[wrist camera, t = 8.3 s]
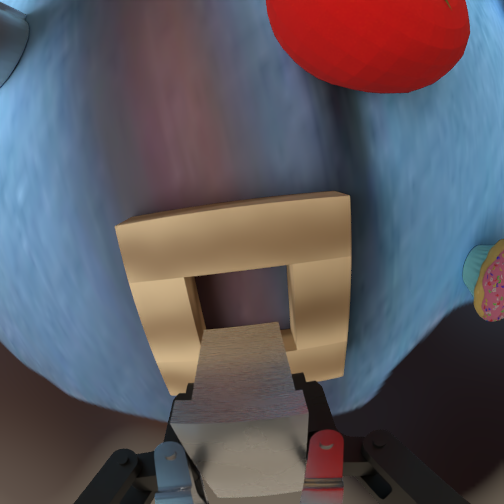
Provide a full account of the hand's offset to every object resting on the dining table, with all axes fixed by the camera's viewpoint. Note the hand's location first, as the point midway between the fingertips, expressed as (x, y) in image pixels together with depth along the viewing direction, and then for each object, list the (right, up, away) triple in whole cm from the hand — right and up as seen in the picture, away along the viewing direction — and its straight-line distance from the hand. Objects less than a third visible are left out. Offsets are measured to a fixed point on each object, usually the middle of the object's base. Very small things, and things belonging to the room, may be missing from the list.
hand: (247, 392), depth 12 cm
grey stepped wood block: (0, +1, +3) cm, 3 cm away
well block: (0, +3, +9) cm, 10 cm away
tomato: (+6, +22, +4) cm, 23 cm away
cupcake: (+25, +5, +10) cm, 27 cm away
